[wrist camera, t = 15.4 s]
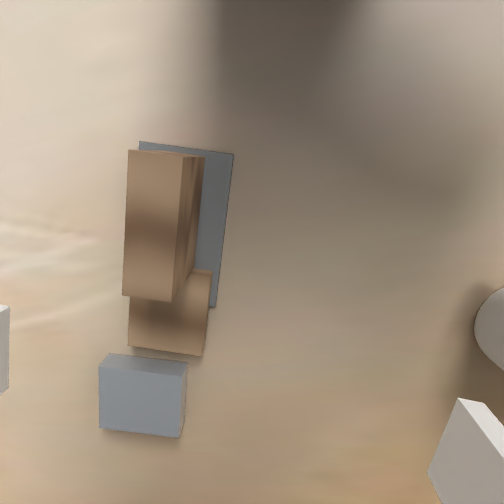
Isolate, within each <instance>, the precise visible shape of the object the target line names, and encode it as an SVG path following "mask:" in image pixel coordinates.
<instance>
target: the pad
mask: <svg viewBox="0 0 504 504" xmlns="http://www.w3.org/2000/svg"><path fill="white" fill-rule="evenodd" d="M139 150H158V151H170V152H177V153H184V154H191V155H198V156H205V163H204V173H203V183H202V193H201V203H200V213H199V223H198V233H197V243H196V254H195V264H194V268H196V269H203V270H210V271H213V275H212V283H211V292H210V301H209V306H212V307H215V306H216V298H217V290H218V281H219V273H220V265H221V256H222V248H223V239H224V231H225V223H226V214H227V206H228V198H229V189H230V181H231V172H232V164H233V156H234V155H233V154H226V153H219V152H212V151H205V150H198V149H191V148H184V147H177V146H170V145H163V144H156V143H149V142H142V141H139Z"/></svg>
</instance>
